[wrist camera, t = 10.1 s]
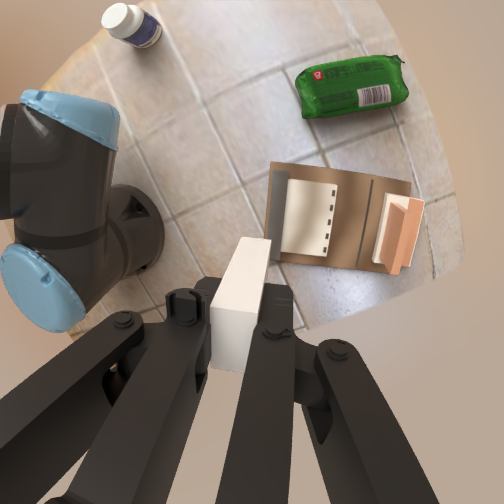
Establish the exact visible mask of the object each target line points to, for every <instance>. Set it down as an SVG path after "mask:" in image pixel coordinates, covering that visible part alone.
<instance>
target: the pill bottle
mask: <svg viewBox="0 0 504 504" xmlns="http://www.w3.org/2000/svg"><path fill="white" fill-rule="evenodd" d="M102 25H103V27H105V28H106V29H108V31H109V33H110V35H111V36H112V37H114V38H116V39H119V40H121V41H123V42H126V43H128V44H130V45H132V46H134V47H137V48H146V47H149V46H151V45H153V44H154V43H155V42H156V41H157V40H158V38H159V37H160V35H161V31H162V27H161V24H160V22H159V21H157V20H156V19H155V18H154V17H152V16H151V15H149V14H148V13H147V12H145V11H144V10H142V9H141V8H140V7H138V6H135V5H126V4H123V3H117V4H114V5H112V6H111V7H110V8H108V9H107V10H106V12H105V13H104V15H103V17H102Z"/></svg>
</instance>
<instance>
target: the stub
mask: <svg viewBox="0 0 504 504" xmlns="http://www.w3.org/2000/svg"><path fill="white" fill-rule="evenodd" d="M424 204H425V201H423V200H422V199H417V198H412V197H406V196H401V195H396V194H390V193H385V196H384V202H383V207H382V213H381V218H380V223H379V228H378V233H377V238H376V243H375V247H374V252H373V256H372V261H373V262H374V263H381V264H384V265H385V266H386V268H387V270H388V271H389V273H390V274H395V275H399V272H400V268H401V266H405V267H410V263H411V260H412V256H413V252H414V248H415V244H416V240H417V236H418V232H419V228H420V223H421V219H422V214H423V209H424Z"/></svg>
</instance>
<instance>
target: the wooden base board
mask: <svg viewBox="0 0 504 504" xmlns="http://www.w3.org/2000/svg"><path fill="white" fill-rule="evenodd" d="M410 188H411V183H410V182H406V181H401V180H396V179H391V178H386V177H381V176H375V175H369V174H364V173H358V172H351V171H345V170H338V169H331V168H324V167H316V166H308V165H300V164H291V163H282V162H271V163H270V175H269V187H268V199H267V210H266V222H265V233H264V239H268V240H271V249H270V258H269V260H273V261H282V262H291V263H300V264H309V265H318V266H327V267H336V268H346V269H355V270H364V271H373V272H383V273H389V271H388V270H387V268H386V266H385V265H384V264H381V263H374V262H373V261H372V256H373V252H374V247H375V243H376V238H377V233H378V228H379V223H380V218H381V213H382V207H383V202H384V196H385V193H390V194H396V195H401V196H406V197H409V194H410Z"/></svg>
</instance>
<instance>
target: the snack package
mask: <svg viewBox="0 0 504 504" xmlns="http://www.w3.org/2000/svg"><path fill="white" fill-rule="evenodd" d="M401 62H403V61H401V59H400V58H399V57H398V55H394V56H386V55H372V56H363V57H358V58H351V59H347V60H341V61H337V62H330V63H325V64H321V65H316V66H312V67H309V68H307V69H305V70H304V71H303V72H301V73H300V74H299V75H298V76H297V78H296V80H295V86H296V88H297V90H298V92H299V95H300V98H301V101H302V117H303V118H304V119H310V118H326V117H332V116H337V115H341V114H345V113H351V112H357V111H364V110H370V109H377V108H383V107H388V106H392V105H396V104H398V103H401V102H403V101H405V100H406V98H407V97H408V95H409V91H408V89H407V87H406V85H405V83H404V81H403V78H402V72H401ZM403 63H405V62H403Z"/></svg>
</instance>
